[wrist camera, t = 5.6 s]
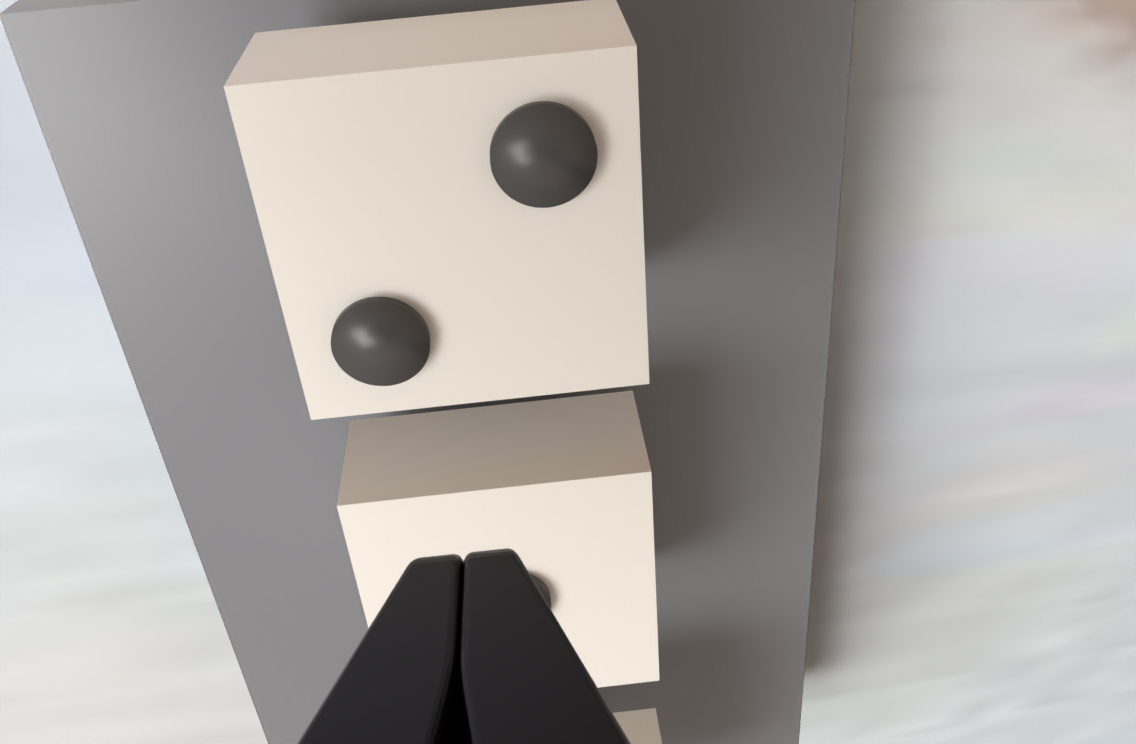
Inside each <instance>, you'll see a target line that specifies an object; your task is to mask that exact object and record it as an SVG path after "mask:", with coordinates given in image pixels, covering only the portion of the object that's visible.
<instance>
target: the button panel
mask: <svg viewBox="0 0 1136 744" xmlns="http://www.w3.org/2000/svg"><path fill="white" fill-rule="evenodd" d="M574 1H584V0H18V1H17V2H15V3H14V4H13V5H11V6H10V7H8V8H7V9H6V10H4V11H3V12H2V13H0V18H1V21H2V24H3V26H4V29H5V32H6V35H7V37H8V40H9V43H10V45H11V48H12V51H13V53H14V56H15V59H16V62H17V64H18V67H19V70H20V72H21V75H22V78H23V81H24V83H25V86H26V89H27V91H28V94H29V97H30V100H31V102H32V105H33V108H34V110H35V113H36V116H37V118H38V121H39V124H40V127H41V129H42V132H43V135H44V137H45V140H46V143H47V146H48V148H49V151H50V154H51V156H52V159H53V162H54V165H55V167H56V170H57V173H58V175H59V178H60V181H61V183H62V186H63V189H64V192H65V194H66V197H67V200H68V202H69V205H70V208H71V211H72V213H73V216H74V219H75V221H76V224H77V227H78V230H79V232H80V235H81V238H82V240H83V243H84V246H85V248H86V251H87V254H88V257H89V259H90V262H91V265H92V267H93V270H94V273H95V276H96V278H97V281H98V284H99V286H100V289H101V292H102V295H103V297H104V300H105V303H106V305H107V308H108V311H109V313H110V316H111V319H112V322H113V324H114V327H115V330H116V332H117V335H118V338H119V341H120V343H121V346H122V349H123V351H124V354H125V357H126V360H127V362H128V365H129V368H130V370H131V373H132V376H133V378H134V381H135V384H136V387H137V389H138V392H139V395H140V397H141V400H142V403H143V406H144V408H145V411H146V414H147V416H148V419H149V422H150V425H151V427H152V430H153V433H154V435H155V438H156V441H157V443H158V446H159V449H160V452H161V454H162V457H163V460H164V462H165V465H166V468H167V471H168V473H169V476H170V479H171V481H172V484H173V487H174V490H175V492H176V495H177V498H178V500H179V503H180V506H181V508H182V511H183V514H184V517H185V519H186V522H187V525H188V527H189V530H190V533H191V536H192V538H193V541H194V544H195V546H196V549H197V552H198V555H199V557H200V560H201V563H202V565H203V568H204V571H205V574H206V576H207V579H208V582H209V584H210V587H211V590H212V592H213V595H214V598H215V601H216V603H217V606H218V609H219V611H220V614H221V617H222V620H223V622H224V625H225V628H226V630H227V633H228V636H229V639H230V641H231V644H232V647H233V649H234V652H235V655H236V657H237V660H238V663H239V666H240V668H241V671H242V674H243V676H244V679H245V682H246V685H247V687H248V690H249V693H250V695H251V698H252V701H253V704H254V706H255V709H256V712H257V714H258V717H259V720H260V722H261V725H262V728H263V731H264V733H265V736H266V739H267V741H268V744H297V743H298V741H299V739H300V738H301V736H302V735H303V733H304V731H305V730H306V728H307V727H308V725H309V723H310V722H311V720H312V718H313V717H314V715H315V714H316V712H317V710H318V709H319V707H320V706H321V704H322V702H323V701H324V699H325V698H326V696H327V694H328V693H329V691H330V690H331V688H332V686H333V685H334V683H335V682H336V680H337V678H338V677H339V675H340V673H341V672H342V670H343V669H344V667H345V665H346V664H347V662H348V661H349V659H350V657H351V656H352V654H353V653H354V651H355V649H356V648H357V646H358V645H359V643H360V641H361V640H362V638H363V636H364V635H365V633H366V632H367V630H368V625H367V621H366V617H365V613H364V609H363V605H362V601H361V598H360V594H359V590H358V586H357V582H356V578H355V575H354V571H353V567H352V563H351V559H350V555H349V551H348V548H347V544H346V540H345V536H344V532H343V528H342V525H341V521H340V517H339V513H338V509H337V501H338V494H339V488H340V481H341V475H342V469H343V462H344V456H345V449H346V443H347V437H348V430H349V424H350V421H352V420H362V419H371V418H380V417H390V416H399V415H408V414H418V413H427V412H436V411H446V410H455V409H464V408H474V407H483V406H492V405H502V404H511V403H520V402H530V401H539V400H548V399H558V398H567V397H576V396H586V395H595V394H605V393H614V392H623V391H633V394H634V398H635V403H636V407H637V411H638V416H639V420H640V424H641V429H642V433H643V437H644V442H645V446H646V450H647V455H648V459H649V463H650V468H651V475H652V500H653V526H654V552H655V578H656V604H657V629H658V655H659V681H651V682H643V683H634V684H625V685H616V686H608V687H599V688H598V689H599V691H600V693H601V694H602V696H603V698H604V699H605V701H606V703H607V704H608V706H609V708H610V709H611V711H612V713H616V712H625V711H633V710H642V709H651V708H656V713H657V718H658V724H659V729H660V735H661V740H662V744H799V732H800V719H801V706H802V693H803V680H804V667H805V653H806V640H807V627H808V614H809V601H810V588H811V575H812V561H813V548H814V535H815V522H816V509H817V496H818V482H819V469H820V456H821V443H822V430H823V417H824V403H825V390H826V377H827V364H828V351H829V338H830V325H831V311H832V298H833V285H834V272H835V259H836V246H837V232H838V219H839V206H840V193H841V180H842V167H843V153H844V140H845V127H846V114H847V101H848V88H849V75H850V61H851V48H852V35H853V22H854V9H855V0H616V1H617V3H618V6H619V8H620V10H621V12H622V14H623V17H624V19H625V21H626V23H627V25H628V28H629V30H630V32H631V34H632V36H633V39H634V41H635V43H636V45H637V68H638V95H639V121H640V148H641V174H642V200H643V227H644V253H645V280H646V306H647V333H648V359H649V384H644V385H635V386H625V387H616V388H607V389H597V390H588V391H579V392H569V393H560V394H550V395H541V396H532V397H522V398H513V399H504V400H494V401H485V402H476V403H466V404H457V405H448V406H438V407H429V408H420V409H410V410H401V411H391V412H382V413H373V414H363V415H354V416H345V417H335V418H326V419H317V420H311V418H310V414H309V410H308V407H307V403H306V399H305V395H304V391H303V388H302V384H301V380H300V376H299V372H298V369H297V365H296V361H295V357H294V353H293V349H292V346H291V342H290V338H289V334H288V330H287V327H286V323H285V319H284V315H283V311H282V307H281V304H280V300H279V296H278V292H277V288H276V285H275V281H274V277H273V273H272V269H271V266H270V262H269V258H268V254H267V250H266V246H265V243H264V239H263V235H262V231H261V227H260V224H259V220H258V216H257V212H256V208H255V204H254V201H253V197H252V193H251V189H250V185H249V182H248V178H247V174H246V170H245V166H244V163H243V159H242V155H241V151H240V147H239V143H238V140H237V136H236V132H235V128H234V124H233V121H232V117H231V113H230V109H229V105H228V102H227V98H226V94H225V90H224V85H225V83H226V81H227V80H228V78H229V76H230V75H231V73H232V71H233V70H234V68H235V66H236V64H237V63H238V61H239V59H240V58H241V56H242V54H243V53H244V51H245V49H246V47H247V46H248V44H249V42H250V41H251V39H252V37H253V35H254V34H255V33H256V32H267V31H277V30H287V29H297V28H308V27H318V26H328V25H338V24H349V23H359V22H369V21H379V20H390V19H400V18H410V17H420V16H430V15H441V14H451V13H461V12H471V11H482V10H492V9H502V8H512V7H523V6H533V5H543V4H553V3H564V2H574Z"/></svg>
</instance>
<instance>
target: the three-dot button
mask: <svg viewBox="0 0 1136 744" xmlns="http://www.w3.org/2000/svg"><path fill="white" fill-rule="evenodd" d="M613 714H614V716H615V718H616V719H617V721H618V723H619V724H620V726H621V728H622V729H623V731H624V733H625V734H626V736H627V738H628V739H629V741H630V743H631V744H662V740H661V735H660V729H659V724H658V718H657V713H656V708H651V709H642V710H633V711H625V712H616V713H613Z"/></svg>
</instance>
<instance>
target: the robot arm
mask: <svg viewBox="0 0 1136 744" xmlns="http://www.w3.org/2000/svg"><path fill="white" fill-rule="evenodd" d="M297 744H631V743H630V741H629V739H628V738H627V736H626V734H625V733H624V731H623V729H622V728H621V726H620V724H619V723H618V721H617V719H616V718H615V716H614V714H613V713H612V711H611V709H610V708H609V706H608V704H607V703H606V701H605V699H604V698H603V696H602V694H601V693H600V691H599V689H598V688H597V686H596V684H595V683H594V681H593V679H592V678H591V676H590V674H589V672H588V671H587V669H586V667H585V666H584V664H583V662H582V661H581V659H580V657H579V656H578V654H577V652H576V651H575V649H574V647H573V646H572V644H571V642H570V641H569V639H568V637H567V636H566V634H565V632H564V631H563V629H562V627H561V626H560V624H559V622H558V621H557V619H556V617H555V616H554V614H553V612H552V611H551V609H550V607H549V606H548V604H547V602H546V600H545V599H544V597H543V595H542V594H541V592H540V590H539V589H538V587H537V585H536V584H535V582H534V580H533V579H532V577H531V575H530V574H529V572H528V570H527V569H526V567H525V565H524V564H523V562H522V560H521V559H520V557H519V555H518V554H517V553H516V552H515V551H514V550H512V549H509V548H505V549H496V550H486V551H477V552H471V553H469V554H468V555H466V557H465V559H464V560H463V559H462V558H461V557H460V556H459V555H457V554H449V555H440V556H431V557H421V558H416V559H414V560H413V561H411V562H410V563H409V564H408V566H407V567H406V569H405V571H404V572H403V574H402V575H401V577H400V579H399V580H398V582H397V583H396V585H395V587H394V588H393V590H392V591H391V593H390V595H389V596H388V598H387V600H386V601H385V603H384V604H383V606H382V608H381V609H380V611H379V612H378V614H377V616H376V617H375V619H374V620H373V622H372V624H371V625H370V627H369V628H368V630H367V632H366V633H365V635H364V636H363V638H362V640H361V641H360V643H359V645H358V646H357V648H356V649H355V651H354V653H353V654H352V656H351V657H350V659H349V661H348V662H347V664H346V665H345V667H344V669H343V670H342V672H341V673H340V675H339V677H338V678H337V680H336V682H335V683H334V685H333V686H332V688H331V690H330V691H329V693H328V694H327V696H326V698H325V699H324V701H323V702H322V704H321V706H320V707H319V709H318V710H317V712H316V714H315V715H314V717H313V718H312V720H311V722H310V723H309V725H308V727H307V728H306V730H305V731H304V733H303V735H302V736H301V738H300V739H299V741H298V743H297Z"/></svg>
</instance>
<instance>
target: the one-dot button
mask: <svg viewBox="0 0 1136 744" xmlns="http://www.w3.org/2000/svg"><path fill="white" fill-rule="evenodd" d="M337 509H338V513H339V517H340V521H341V525H342V528H343V532H344V536H345V540H346V544H347V548H348V551H349V555H350V559H351V563H352V567H353V571H354V575H355V578H356V582H357V586H358V590H359V594H360V598H361V601H362V605H363V609H364V613H365V617H366V621H367V625H368V628H369V627H370V625H371V624H372V622H373V620H374V619H375V617H376V616H377V614H378V612H379V611H380V609H381V608H382V606H383V604H384V603H385V601H386V600H387V598H388V596H389V595H390V593H391V591H392V590H393V588H394V587H395V585H396V583H397V582H398V580H399V579H400V577H401V575H402V574H403V572H404V571H405V569H406V567H407V566H408V564H409V563H410V562H411V561H413V560H414V559H416V558H421V557H431V556H440V555H449V554H457V555H459V556H460V557H461V558H462V559H463V560H464V559H465V557H466V555H468V554H469V553H471V552H477V551H486V550H496V549H505V548H509V549H512V550H514V551H515V552H516V553H517V554H518V555H519V557H520V559H521V560H522V562H523V564H524V565H525V567H526V569H527V570H528V572H529V574H530V575H531V577H532V579H533V580H534V582H535V584H536V585H537V587H538V589H539V590H540V592H541V594H542V595H543V597H544V599H545V600H546V602H547V604H548V606H549V607H550V609H551V611H552V612H553V614H554V616H555V617H556V619H557V621H558V622H559V624H560V626H561V627H562V629H563V631H564V632H565V634H566V636H567V637H568V639H569V641H570V642H571V644H572V646H573V647H574V649H575V651H576V652H577V654H578V656H579V657H580V659H581V661H582V662H583V664H584V666H585V667H586V669H587V671H588V672H589V674H590V676H591V678H592V679H593V681H594V683H595V684H596V686H597V688H599V687H608V686H616V685H625V684H634V683H643V682H651V681H659V655H658V629H657V604H656V578H655V552H654V526H653V500H652V475H651V468H650V463H649V459H648V455H647V450H646V446H645V442H644V437H643V433H642V429H641V424H640V420H639V416H638V411H637V407H636V403H635V398H634V394H633V391H623V392H614V393H605V394H595V395H586V396H576V397H567V398H558V399H548V400H539V401H530V402H520V403H511V404H502V405H492V406H483V407H474V408H464V409H455V410H446V411H436V412H427V413H418V414H408V415H399V416H390V417H380V418H371V419H362V420H352V421H350V424H349V430H348V437H347V443H346V449H345V456H344V462H343V469H342V475H341V481H340V488H339V494H338V501H337Z"/></svg>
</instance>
